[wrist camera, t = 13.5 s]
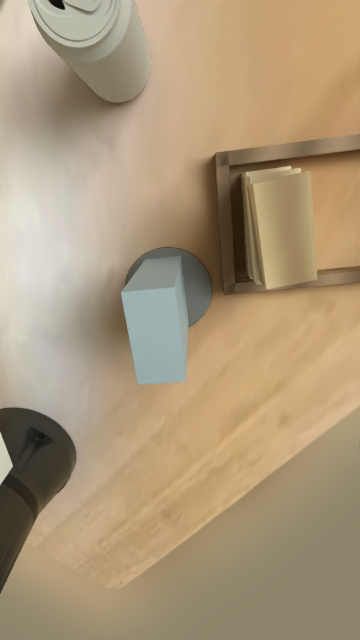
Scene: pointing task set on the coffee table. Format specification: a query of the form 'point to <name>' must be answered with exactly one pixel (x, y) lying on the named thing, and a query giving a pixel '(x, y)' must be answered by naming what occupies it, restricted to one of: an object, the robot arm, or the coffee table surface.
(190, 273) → the coaster
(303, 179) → the offcut
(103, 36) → the beverage can
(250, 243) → the offcut
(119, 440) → the coffee table surface
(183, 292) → the light blue block
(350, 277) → the rack
